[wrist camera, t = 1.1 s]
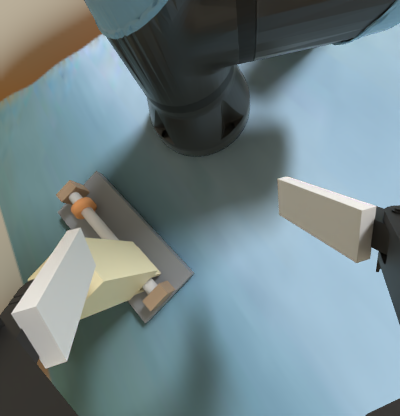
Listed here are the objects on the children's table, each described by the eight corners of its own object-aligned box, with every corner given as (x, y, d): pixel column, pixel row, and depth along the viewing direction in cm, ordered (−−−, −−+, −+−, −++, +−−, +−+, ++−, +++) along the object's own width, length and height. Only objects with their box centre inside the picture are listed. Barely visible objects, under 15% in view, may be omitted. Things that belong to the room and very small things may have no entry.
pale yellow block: (117, 268, 32) (27, 279, 19) (141, 242, 32) (68, 236, 19) (139, 295, 31) (59, 328, 18) (165, 268, 31) (103, 281, 18)
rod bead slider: (64, 213, 38) (37, 208, 33) (102, 174, 38) (80, 162, 33) (149, 320, 32) (132, 332, 27) (194, 273, 32) (184, 277, 27)
